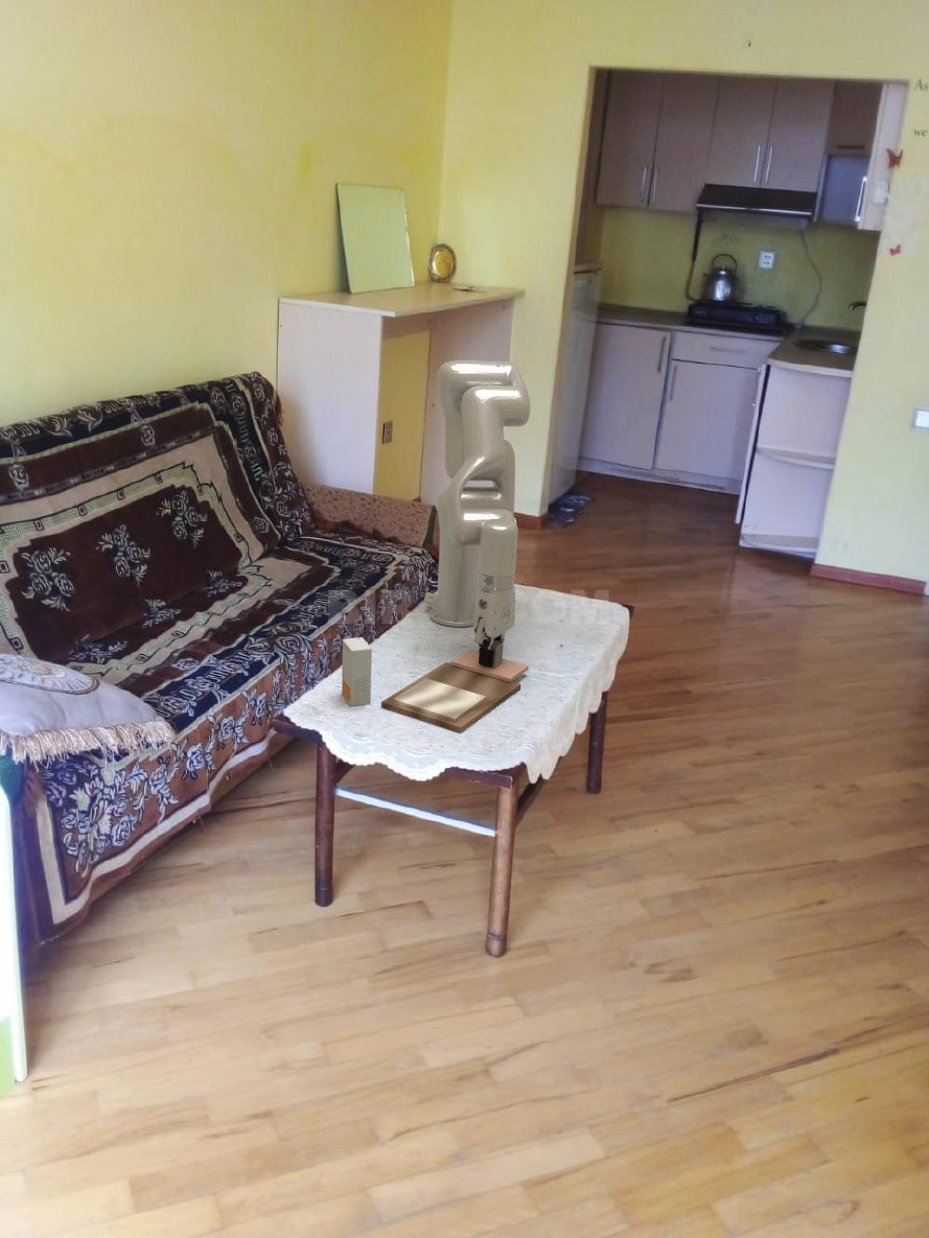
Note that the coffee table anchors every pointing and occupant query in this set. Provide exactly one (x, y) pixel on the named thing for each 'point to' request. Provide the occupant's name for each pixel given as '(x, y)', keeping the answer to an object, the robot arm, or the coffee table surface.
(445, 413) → the robot arm
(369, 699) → the skincare box
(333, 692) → the coffee table surface
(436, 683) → the board
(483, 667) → the peach lid with handle
